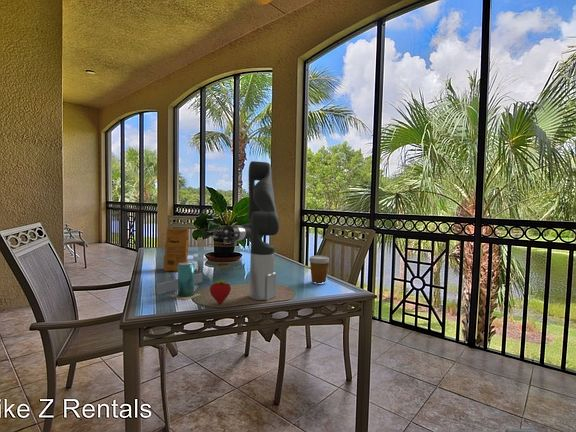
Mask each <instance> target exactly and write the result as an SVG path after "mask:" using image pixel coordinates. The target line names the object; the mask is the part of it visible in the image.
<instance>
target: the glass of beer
mask: <svg viewBox="0 0 576 432" xmlns="http://www.w3.org/2000/svg"><path fill="white" fill-rule="evenodd" d="M308 260H309V265H310V275H311V276H310V277H311V283H312V282H316V283H322V282H325V281H327V275H328V268H329V263H330V258H329V257H328V256H327V255H326V256H325V255H311V256H310V257H309V259H308Z"/></svg>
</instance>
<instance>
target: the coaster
mask: <svg viewBox="0 0 576 432" xmlns="http://www.w3.org/2000/svg"><path fill="white" fill-rule="evenodd" d="M199 296H202V294H201V293H197V292H194V295H193V296H190V297H179V296H178V293H175V294H171V295H170V296H169V297H171V298H175V299H177V300H183V301H187V300H190V299H194V298H197V297H199Z"/></svg>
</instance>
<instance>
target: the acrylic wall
mask: <svg viewBox="0 0 576 432" xmlns="http://www.w3.org/2000/svg"><path fill="white" fill-rule="evenodd" d="M200 283H203V273H202V272H199V273H194V285H196V284H200ZM155 286H156V290H155V291H156V294H155V295H157V296H160V295H163V294H165V293H170V292H173V291H178V278H175V279H172V280H168V281H165V282H160V283H157V284H156V285H155Z"/></svg>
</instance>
